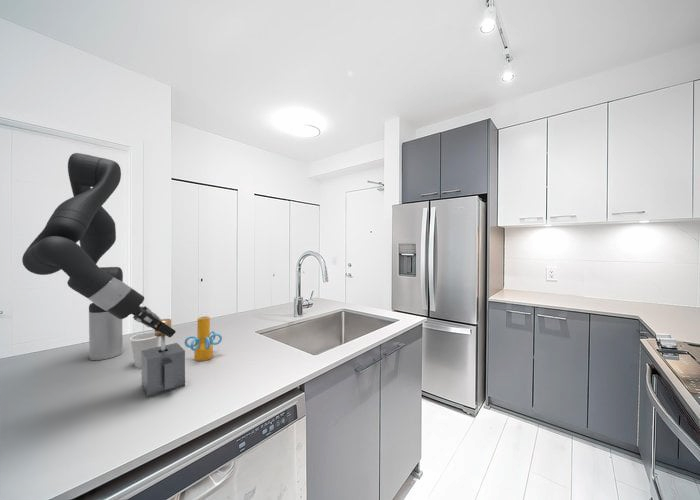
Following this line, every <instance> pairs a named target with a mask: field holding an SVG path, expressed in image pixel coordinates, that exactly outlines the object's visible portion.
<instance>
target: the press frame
mask: <svg viewBox="0 0 700 500" xmlns="http://www.w3.org/2000/svg"><path fill="white" fill-rule="evenodd" d="M141 362H142V367H141V388H142V390H143V392H144V394H145V396H146V398H147V400H148V399H150V398H153V397H156V396H159V395H162V394H165V393H168V392H172V391H174V390H179V389H181V388H184V387H186V350H185V349H184V348H183V347H182V346H181V345H180V344H178V342H175V343H169V344H165V352H161V345H159V346H158V347H156V348H151V349H147V350H142V351H141Z"/></svg>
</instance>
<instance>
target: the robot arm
mask: <svg viewBox="0 0 700 500" xmlns="http://www.w3.org/2000/svg"><path fill="white" fill-rule="evenodd" d="M121 169H122V168H121V166H120V164H119V163H118V162H116V161H115V160H111V159H109V158H104V157H99V156H94V155H90V154H87V153H86V154H85V153H80V152H74V153H72V154H71V155H69V158H68V161H67V172H68V173H67V175H68V179H69V183H70V187H71V191H72V195H73V197H70V198H68V199H66V200H64V201H63V202H62V203H60V204H59V205H58V206H57V207H56V208H55V210H54V211H53V213H52V214H51V216H50V217H49V219H48V221H47V222H46V224H45V227H44V228H43V229H42V230H41V232H40V233H39V234H38V235H37V236H36V237H35V239H34V240H33V241H32V242H31V243H30V244H29V246H28V247H27V248H26V250H25V251H24V253H23V255H22V259H21V262H22V266H23V267H24V268H25V269H26V270H27V271H28V272H30V273H31V274H35V275H39V276H40V275H41V276H42V275H43V276H45V275H46V276H47V275H52V274H55V273H58V272H59V271H62V272H64V274H66V275H67V276H68V277H69V278H68V280H67V282H66V283H67V286H68V287H69V288H70V289H72V290H73V291H75V292H77V293H78V294H79V295H82V296H83V297H85V298H86V299H87V300H89V301H90V302H92V303H90V304H89V305H88V336H89V337H88V339H89V340H88V343H89V347H88V350H89V351H88V352H89V358H88V359H89V361H90V360H91V361H101V360H108V359H111V358H115V357H118V356H120V355H121V354H122V353H123V351H124V350H123V341H124V339H123V320H124V319H126V318H128V317H129V316H130V315H133V317H132V318H133V319H134V321H136V322H137V323H141V324H142V325H144V326H146V327H147V328H150V329H153V330H154V332H155V331H160V332H161V333H163V334H165V335H166V336H165V337H168V338H172V337H173V336H174V335H175V334H176V330H175V329H173V328H172V327H171V328H170V327H169V326H167V325H166V324H165V322H162V321H161V319H162V318H160V316H158V315H157V314H156V313H155V312H154V311H152V310H151V309H150V308H149V307H148V306H140V305H142V304H143V303H144V301H145V296H144V295H143V294H141V293H139V292H138V291H137V290H135V289H133V287H131V286H129V285H128V284H126V283H125V282H124V279H123V278H124V274H123V273H124V272H123V269H122V268H121V267H119V266H105V267H100V266H99V265H97V264H98V262H99V261H100V259H102V257H103V256H104V255H105V254H106V253H107V252H108V251H109V250H110V249H111V248H112V246H113V245H115V242H116V241H117V239H116V238H117V234H116V233H117V229H116V227H117V226H116V221H114V219H113V217H112V216H111V215H110V213H109V212H108V211H107V210H106V209H105V208H104V207H103V205H104V204H105V203H106V202H107V201H108V199H109V198H110V197H111V196H112V194H113V193H114V192H115V191H116V189H117V188H118V187H119V184H120V183H121V178H122V171H121ZM78 242H79V244H78ZM158 322H159V323H160V324H159V325H158V326H157V327H155V325H156V324H157V323H158Z"/></svg>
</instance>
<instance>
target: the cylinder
mask: <svg viewBox="0 0 700 500" xmlns="http://www.w3.org/2000/svg"><path fill="white" fill-rule="evenodd" d="M196 319H197V322H196V323H197V328H196V329H197V333H196V335H197V336H195V335H190V336H187V337H186V338H185V340H184V345H185V346H186V348H190V350H191V351H193V352H194V356H193V357H194V361H196V362H204V361H207V360H210V359H212V358H213V355H214V346H217V345H219V344H221V342H222V340H223V337H222V335H221V334H220V333H216V332H215V331H214V330H211V323H210V320H211V317H210V316H208V315H207V316H206V315H205V316H198V317H197V318H196ZM216 336H217V337H218V338H219V340H218V341H217V342H214V341H215V339H216ZM190 339H192V340H191V342H190V344H188V341H189V340H190Z"/></svg>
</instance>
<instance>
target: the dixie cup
mask: <svg viewBox="0 0 700 500" xmlns="http://www.w3.org/2000/svg"><path fill="white" fill-rule="evenodd" d="M129 340H130V344H131V348H132V354H133V360H134V361H133V362H134V366H135V368H139V369H140V368H141V369H142V362H141V351H142V350H147V349H151V348H156V347H159V340H160V337H157V336H155V331H148V332H141V333H138V334H135V335H132V336H130V338H129Z"/></svg>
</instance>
